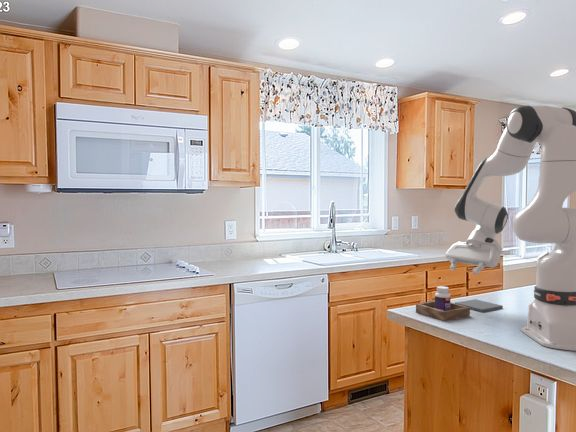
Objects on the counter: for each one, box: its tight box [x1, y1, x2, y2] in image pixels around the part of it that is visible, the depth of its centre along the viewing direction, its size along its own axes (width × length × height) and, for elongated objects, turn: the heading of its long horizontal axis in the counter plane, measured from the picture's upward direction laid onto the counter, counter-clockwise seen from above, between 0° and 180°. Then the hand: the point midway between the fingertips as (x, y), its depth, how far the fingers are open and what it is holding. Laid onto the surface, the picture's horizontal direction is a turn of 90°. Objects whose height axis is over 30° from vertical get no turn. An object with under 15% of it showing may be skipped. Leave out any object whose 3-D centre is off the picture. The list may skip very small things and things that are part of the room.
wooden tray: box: [415, 300, 471, 321], centre depth 157 cm, size 13×13×3 cm
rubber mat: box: [454, 298, 503, 313], centre depth 167 cm, size 12×12×1 cm
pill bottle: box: [434, 285, 451, 311], centre depth 157 cm, size 5×5×10 cm
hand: (462, 271), depth 163 cm, fingers open, 8 cm apart
